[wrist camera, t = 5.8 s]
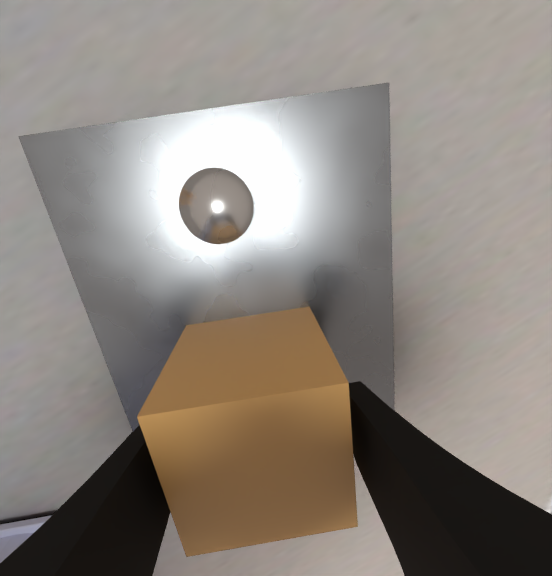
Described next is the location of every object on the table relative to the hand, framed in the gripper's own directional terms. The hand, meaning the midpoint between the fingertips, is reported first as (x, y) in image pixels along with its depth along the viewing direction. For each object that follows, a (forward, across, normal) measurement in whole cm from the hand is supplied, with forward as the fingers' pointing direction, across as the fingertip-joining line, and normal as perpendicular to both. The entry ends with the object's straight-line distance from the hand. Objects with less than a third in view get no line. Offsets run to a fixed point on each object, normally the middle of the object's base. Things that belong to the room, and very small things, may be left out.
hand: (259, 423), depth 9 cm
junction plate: (+4, 0, -3) cm, 5 cm away
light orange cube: (+3, 0, 0) cm, 3 cm away
